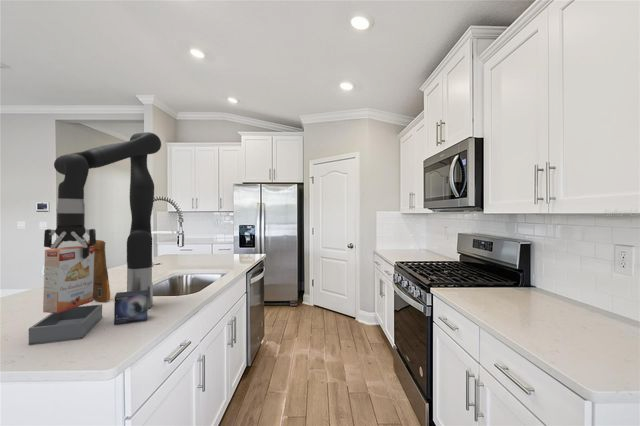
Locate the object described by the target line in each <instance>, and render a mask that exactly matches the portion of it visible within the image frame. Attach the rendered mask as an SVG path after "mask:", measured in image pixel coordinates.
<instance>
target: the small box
mask: <svg viewBox="0 0 640 426" xmlns="http://www.w3.org/2000/svg"><path fill="white" fill-rule="evenodd" d="M147 295H148V290H141V291H130V292H127V291H120V292H119V291H118V292H116V293H115V296H114V306H113V308H114V309H113V310H114V313H113V316H114V317H113V325H115V326H116V325H123V324H132V323H140V322H146V321H148V308H147Z"/></svg>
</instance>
